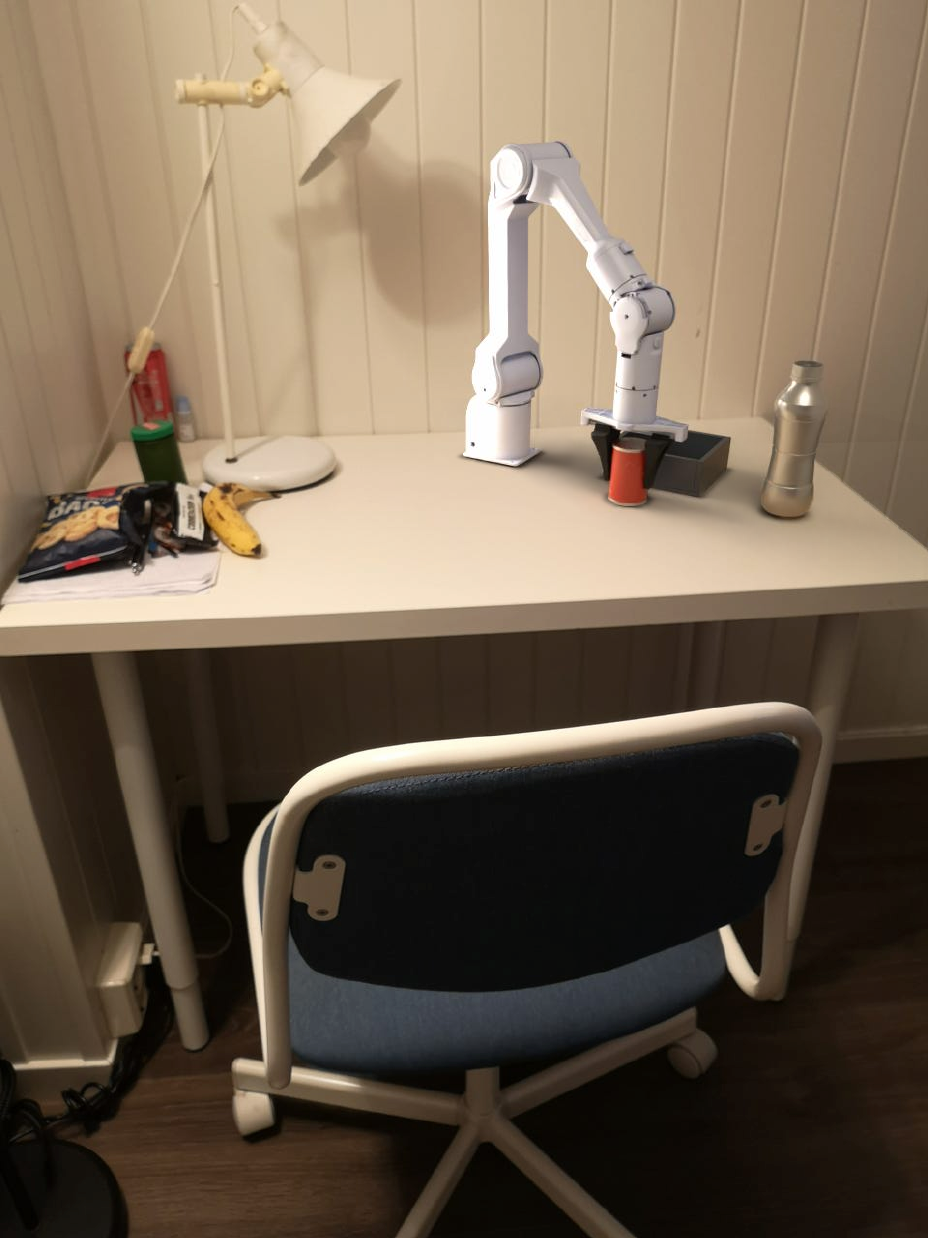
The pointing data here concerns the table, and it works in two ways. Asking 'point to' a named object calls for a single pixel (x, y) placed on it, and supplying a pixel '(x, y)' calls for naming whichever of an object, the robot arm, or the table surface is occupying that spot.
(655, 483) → the drawer
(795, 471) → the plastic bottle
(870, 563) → the table surface
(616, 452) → the tin can
